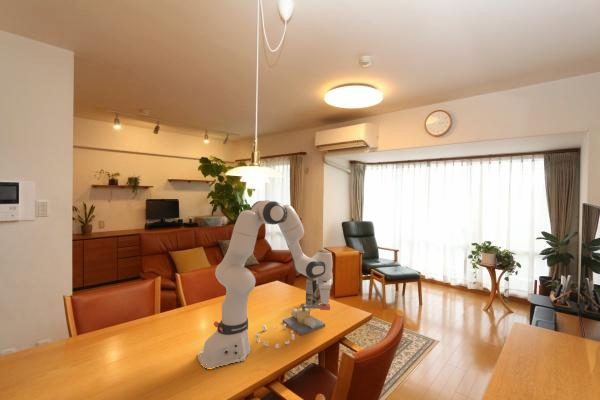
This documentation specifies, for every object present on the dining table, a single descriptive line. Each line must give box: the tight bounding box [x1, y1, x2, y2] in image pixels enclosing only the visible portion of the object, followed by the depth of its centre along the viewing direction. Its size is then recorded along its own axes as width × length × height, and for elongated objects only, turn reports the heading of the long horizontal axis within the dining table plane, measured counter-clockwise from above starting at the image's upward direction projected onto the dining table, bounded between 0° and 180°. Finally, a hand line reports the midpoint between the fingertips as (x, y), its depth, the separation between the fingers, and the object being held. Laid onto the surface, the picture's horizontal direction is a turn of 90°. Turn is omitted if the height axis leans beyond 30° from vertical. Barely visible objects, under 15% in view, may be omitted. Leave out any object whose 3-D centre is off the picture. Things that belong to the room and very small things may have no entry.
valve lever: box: [300, 303, 331, 311], centre depth 147 cm, size 15×3×2 cm, turn 88°
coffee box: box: [305, 277, 322, 305], centre depth 175 cm, size 9×6×16 cm
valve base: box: [282, 307, 326, 336], centre depth 148 cm, size 16×17×9 cm
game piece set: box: [255, 323, 296, 349], centre depth 135 cm, size 19×20×4 cm
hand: (324, 305), depth 150 cm, fingers closed
